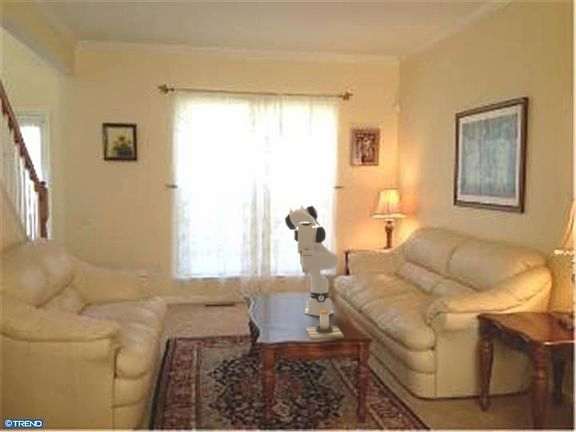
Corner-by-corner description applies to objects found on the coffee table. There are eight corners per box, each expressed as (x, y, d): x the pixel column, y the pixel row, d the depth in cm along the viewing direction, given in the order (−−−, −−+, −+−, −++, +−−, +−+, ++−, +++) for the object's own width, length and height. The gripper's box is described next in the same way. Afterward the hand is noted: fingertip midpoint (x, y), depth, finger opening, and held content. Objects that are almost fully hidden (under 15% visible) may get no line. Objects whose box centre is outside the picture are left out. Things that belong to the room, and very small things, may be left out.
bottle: (318, 330, 294) (319, 310, 294) (327, 329, 295) (327, 310, 294) (320, 332, 289) (320, 312, 289) (329, 332, 290) (329, 312, 289)
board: (305, 329, 300) (305, 323, 300) (336, 328, 302) (337, 323, 302) (310, 338, 282) (310, 332, 282) (343, 337, 284) (343, 331, 284)
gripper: (297, 247, 311) (297, 271, 312) (302, 252, 291) (302, 277, 292) (308, 247, 312) (308, 270, 313) (313, 252, 292) (313, 277, 293)
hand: (305, 274), depth 302 cm, fingers open, 8 cm apart
